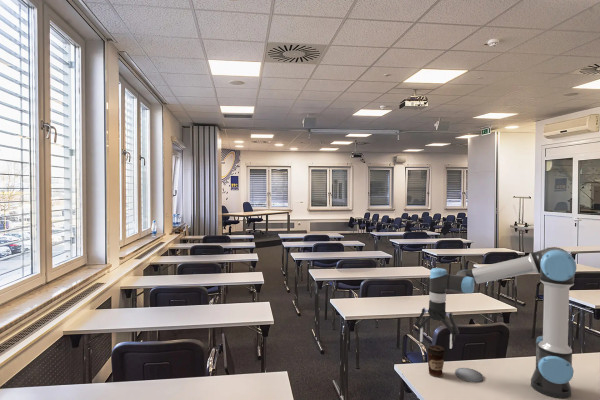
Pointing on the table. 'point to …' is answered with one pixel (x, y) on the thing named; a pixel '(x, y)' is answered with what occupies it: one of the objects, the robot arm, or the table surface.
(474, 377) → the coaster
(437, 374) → the coffee cup
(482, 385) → the table surface
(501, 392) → the table surface
